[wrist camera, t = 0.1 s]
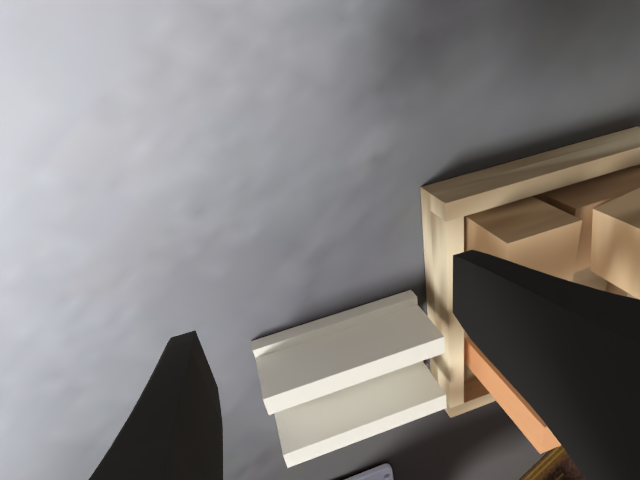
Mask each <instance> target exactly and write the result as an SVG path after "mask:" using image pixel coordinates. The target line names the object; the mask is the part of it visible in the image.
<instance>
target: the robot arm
mask: <svg viewBox="0 0 640 480" xmlns="http://www.w3.org/2000/svg"><path fill="white" fill-rule="evenodd" d="M453 314H454V315H455V317H456V318H457V320H458V322H459V323H460V325H461V326H462V328H463V329H464V330H465V332H466V333H467V335H468V336H469V337H470V339H471V340H472V342H473V343H474V344H475V345H476V346H477V347H478V348H479V349H480V351H481V352H482V353H483V354H484V355H485V356H486V357H487V358H488V360H489V361H490V362H491V363H492V364H493V365H494V366H495V367H496V368H497V369H498V371H499V372H500V373H501V374H502V375H503V376H504V377H505V378H506V379H507V380H508V381H509V383H510V384H511V385H512V386H513V387H514V388H515V389H516V390H517V391H518V392H519V393H520V395H521V396H522V397H523V398H524V399H525V400H526V401H527V402H528V403H529V404H530V406H531V407H532V408H533V409H534V410H535V412H536V413H537V414H538V415H539V416H540V418H541V419H542V420H543V421H544V423H545V424H546V425H547V427H548V428H549V429H550V431H551V432H552V433H553V435H554V436H555V437H556V439H557V440H558V441H559V443H560V444H561V445H562V447H563V448H564V449H565V451H566V452H567V453H568V455H569V456H570V458H571V459H572V460H573V462H574V463H575V465H576V466H577V467H578V469H579V470H580V472H581V473H582V474H583V476H584V477H585V479H586V480H640V299H636V298H631V297H627V296H622V295H618V294H614V293H610V292H606V291H602V290H599V289H595V288H592V287H588V286H585V285H581V284H578V283H574V282H571V281H568V280H565V279H561V278H558V277H555V276H552V275H549V274H546V273H543V272H540V271H537V270H534V269H531V268H528V267H525V266H522V265H519V264H516V263H513V262H511V261H508V260H505V259H502V258H499V257H496V256H493V255H490V254H487V253H483V252H480V251H476V250H469V251H466V252H462V253H459V254H455V255H453ZM89 480H223V428H222V417H221V408H220V401H219V393H218V387H217V384H216V382H215V379H214V377H213V374H212V372H211V369H210V367H209V364H208V361H207V359H206V356H205V354H204V351H203V349H202V346H201V344H200V341H199V339H198V336H197V334H196V331H192V332H189V333H186V334H182V335H179V336H175V337H172V338H170V340H169V342H168V343H167V345H166V347H165V349H164V351H163V353H162V355H161V357H160V359H159V361H158V363H157V365H156V368H155V369H154V371H153V373H152V375H151V377H150V379H149V381H148V383H147V385H146V387H145V389H144V391H143V392H142V394H141V396H140V398H139V400H138V402H137V403H136V405H135V407H134V409H133V411H132V412H131V414H130V416H129V418H128V419H127V421H126V422H125V424H124V426H123V427H122V429H121V431H120V432H119V434H118V436H117V437H116V439H115V441H114V442H113V444H112V446H111V447H110V449H109V450H108V452H107V453H106V455H105V456H104V458H103V459H102V461H101V462H100V464H99V465H98V467H97V468H96V470H95V471H94V473H93V474H92V476H91V477H90V478H89ZM344 480H394V479H393V473H392V468H391V466H390V464H383V465H380V466H378V467H375V468H372V469H370V470H367V471H365V472H362V473H360V474H357V475H354V476H352V477H349V478H347V479H344Z"/></svg>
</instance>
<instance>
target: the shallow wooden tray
mask: <svg viewBox="0 0 640 480" xmlns="http://www.w3.org/2000/svg"><path fill="white" fill-rule="evenodd" d="M631 166H636V167H639V168H640V127H638V126H636V127H633V128H629V129H626V130H622V131H619V132H615V133H611V134H608V135H604V136H601V137H597V138H594V139H590V140H586V141H583V142H579V143H576V144H572V145H569V146H565V147H562V148H558V149H554V150H551V151H547V152H544V153H540V154H537V155H533V156H529V157H526V158H522V159H519V160H515V161H512V162H508V163H505V164H501V165H497V166H494V167H490V168H487V169H483V170H480V171H476V172H472V173H469V174H465V175H462V176H458V177H455V178H451V179H447V180H444V181H440V182H437V183H433V184H430V185H426V186H423V187H420V188H421V205H422V223H423V241H424V259H425V277H426V294H427V312H428V318H429V319H430V320H431V321H432V322H433V324H434V325H435V326H436V327H437V328H438V330H439V331H440V332H441V333H442V334H443V336H444V341H445V353H443V354H440V355H438V356H435V357H432V358H430V366H431V374H432V375H433V377H434V378H435V379H436V381H437V382H438V384H439V385H440V387H441V388H442V389H443V391H444V392H445V394H446V405H447V408H445V410H446V412H447V413H448V415H449V416H450V418H452V417H454V416H457V415H460V414H462V413H465V412H468V411H470V410H473V409H475V408H478V407H481V406H483V405H486V404H489V403H491V402H494V401H496V400H495V399H494V397H493V396H492V395H491V394H490V393H489V391H488V390H487V389H486V388H485V387H484V385H483V384H482V383H481V382H480V381H479V379H478V378H477V377H476V376H475V375H474V373H473V372H472V371H471V370H470V368H469V367H468V366H467V365H466V364H465V362H464V338H467V337H469V336H468V335H467V333H466V332H465V330H464V329H463V328H462V326H461V325H460V323H459V322H458V320H457V318H456V317H455V315H454V314H453V255H455V254H459V253H462V252H464V216H467V215H470V214H474V213H477V212H480V211H484V210H487V209H490V208H494V207H497V206H500V205H504V204H507V203H511V202H514V201H517V200H521V199H524V198H527V197H531V196H534V195H537V194H541V193H544V192H547V191H551V190H554V189H557V188H561V187H564V186H568V185H571V184H574V183H578V182H581V181H584V180H588V179H591V178H594V177H598V176H601V175H604V174H608V173H611V172H614V171H618V170H621V169H625V168H628V167H631ZM572 282H574V283H578V284H581V285H585V286H588V287H592V288H595V289H599V290H602V291H606V292H610V293H614V294H618V295H622V296H627V297H631V298H636V297H634V296H632V295H631V294H629V293H627V292H626V291H624V290H622V289H620V288H619V287H617V286H615V285H614V284H612V283H610V282H609V281H607V280H605V279H603V278H602V277H600V276H598V275H597V274H595V273H593V272H592V271H590V267H589V268H586V269H583V270H580V271H577V272H574V275H573V281H572ZM636 299H637V298H636Z"/></svg>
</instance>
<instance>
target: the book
mask: <svg viewBox="0 0 640 480" xmlns="http://www.w3.org/2000/svg"><path fill="white" fill-rule="evenodd" d="M519 480H586V479H585V477H584V476H583V474H582V473H581V472H580V470H579V469H578V467H577V466H576V465H575V463H574V462H573V460H572V459H571V458H570V456H569V455H568V453H567V452H566V451H565V449H564V448H563V447H562V445H561V446H559V447H556V448H554V449H551V450H550V451H549V452H548V453H547V454H545V455H544V456H543V457H542V458H541V459H540V460H539V461H538V462H537V463H536V464H535V465H534V466H533V467H532V468H531V469H530V470H529V471H528V472H527V473H526V474H525V475H524V476H523V477H522V478H521V479H519Z"/></svg>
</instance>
